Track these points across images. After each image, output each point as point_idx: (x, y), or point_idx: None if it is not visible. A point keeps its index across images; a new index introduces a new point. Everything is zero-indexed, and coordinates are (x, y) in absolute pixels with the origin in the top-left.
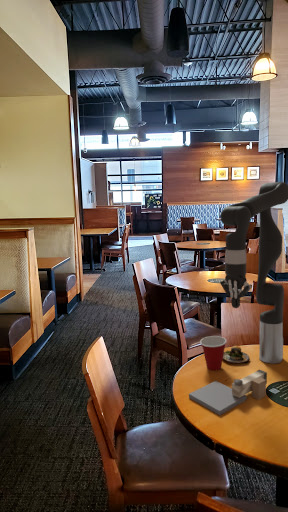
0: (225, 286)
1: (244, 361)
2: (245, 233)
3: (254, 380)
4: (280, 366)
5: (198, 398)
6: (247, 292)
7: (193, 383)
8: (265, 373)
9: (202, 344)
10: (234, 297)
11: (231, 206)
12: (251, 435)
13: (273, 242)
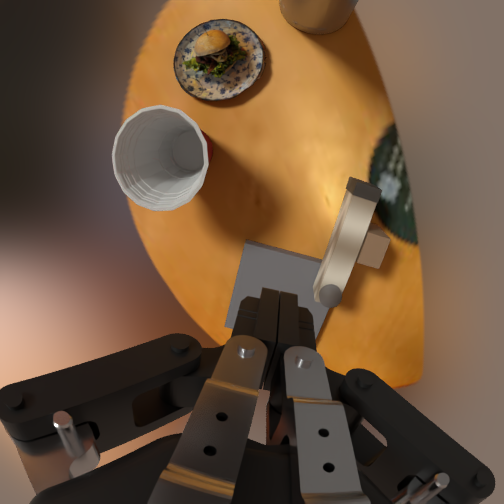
0: (110, 445)
1: (259, 74)
2: None
3: (364, 258)
4: (358, 37)
5: None
6: (421, 419)
7: (196, 263)
8: (379, 196)
9: (141, 205)
10: (269, 402)
11: None
12: (377, 358)
13: None
